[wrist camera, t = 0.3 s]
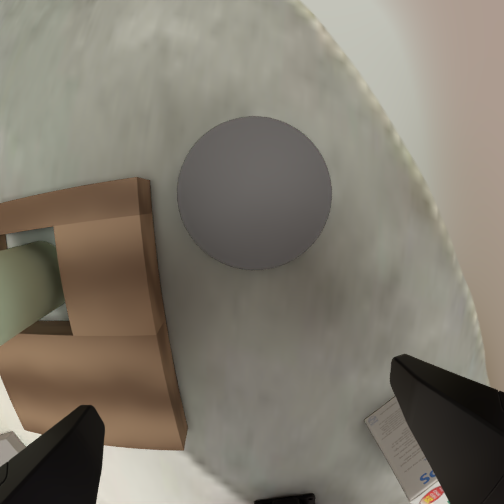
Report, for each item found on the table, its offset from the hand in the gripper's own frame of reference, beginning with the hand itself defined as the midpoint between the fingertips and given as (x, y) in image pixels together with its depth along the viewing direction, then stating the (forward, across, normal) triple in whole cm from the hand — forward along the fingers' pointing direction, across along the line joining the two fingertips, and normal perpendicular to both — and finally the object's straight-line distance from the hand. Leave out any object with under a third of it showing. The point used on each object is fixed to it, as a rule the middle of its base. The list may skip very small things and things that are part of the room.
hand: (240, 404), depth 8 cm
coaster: (+14, -2, -4) cm, 15 cm away
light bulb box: (+12, -14, +20) cm, 27 cm away
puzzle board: (+14, +14, +3) cm, 19 cm away
